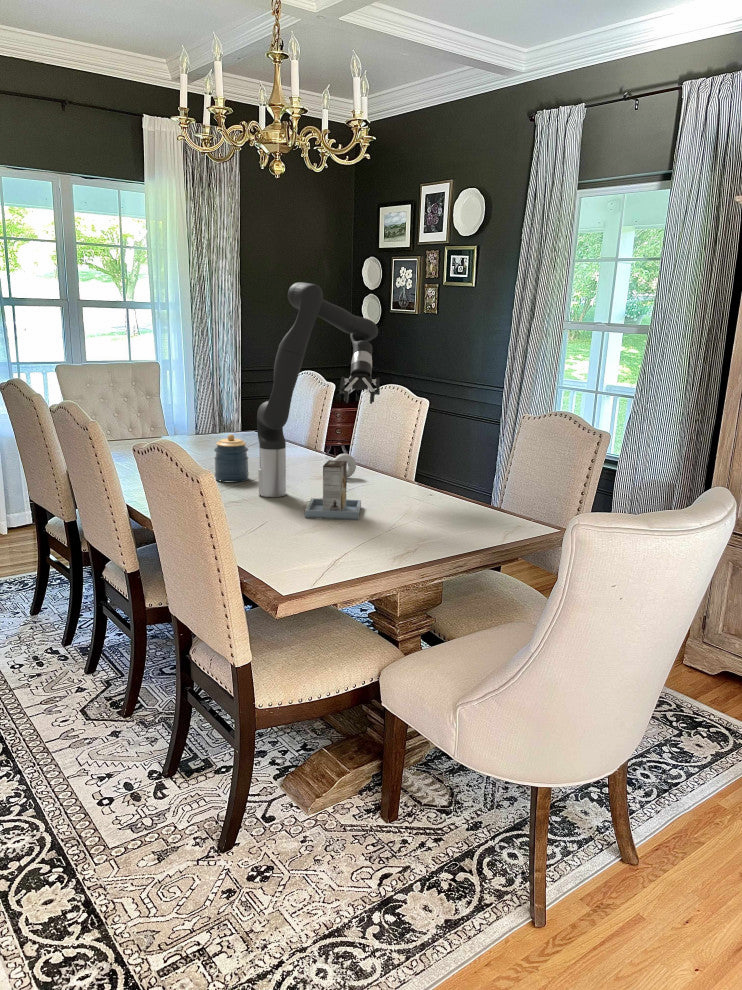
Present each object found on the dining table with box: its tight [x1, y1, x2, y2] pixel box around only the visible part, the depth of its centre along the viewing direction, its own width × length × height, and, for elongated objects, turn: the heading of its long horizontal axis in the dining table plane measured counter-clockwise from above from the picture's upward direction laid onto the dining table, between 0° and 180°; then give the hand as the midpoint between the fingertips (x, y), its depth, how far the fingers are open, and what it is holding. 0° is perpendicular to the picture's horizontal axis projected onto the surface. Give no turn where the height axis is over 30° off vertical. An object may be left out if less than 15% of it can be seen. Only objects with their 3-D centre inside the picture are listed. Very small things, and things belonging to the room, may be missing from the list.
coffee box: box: [322, 459, 348, 511], centre depth 246 cm, size 9×6×16 cm
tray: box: [304, 497, 362, 521], centre depth 247 cm, size 17×16×2 cm
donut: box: [333, 453, 357, 479], centre depth 296 cm, size 10×3×10 cm, turn 109°
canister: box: [213, 433, 250, 482], centre depth 289 cm, size 13×13×18 cm
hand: (358, 402), depth 263 cm, fingers open, 8 cm apart
